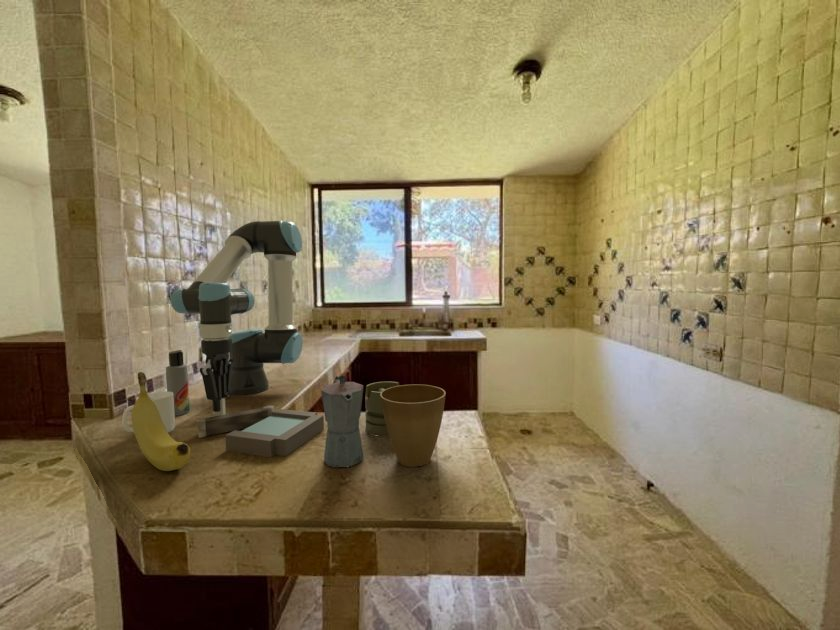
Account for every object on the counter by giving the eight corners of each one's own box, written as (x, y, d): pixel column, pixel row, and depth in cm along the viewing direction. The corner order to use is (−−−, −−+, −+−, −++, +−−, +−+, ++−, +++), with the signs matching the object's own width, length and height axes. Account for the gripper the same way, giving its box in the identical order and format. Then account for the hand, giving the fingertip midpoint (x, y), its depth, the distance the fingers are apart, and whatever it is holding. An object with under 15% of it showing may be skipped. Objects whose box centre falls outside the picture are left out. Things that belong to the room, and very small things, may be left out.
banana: (200, 473, 80) (195, 382, 78) (170, 485, 75) (164, 388, 73) (156, 447, 92) (152, 368, 91) (128, 456, 88) (122, 373, 86)
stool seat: (278, 421, 109) (278, 408, 109) (326, 427, 105) (326, 413, 105) (226, 450, 90) (225, 434, 90) (282, 459, 86) (281, 442, 86)
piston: (398, 380, 111) (411, 389, 100) (398, 419, 112) (411, 432, 101) (361, 383, 107) (370, 394, 96) (361, 424, 108) (371, 439, 97)
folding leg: (273, 419, 111) (272, 404, 111) (275, 422, 108) (275, 407, 108) (198, 433, 100) (197, 417, 100) (198, 438, 98) (198, 421, 97)
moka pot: (330, 479, 77) (328, 385, 75) (314, 450, 91) (312, 370, 89) (373, 468, 81) (372, 379, 80) (352, 442, 95) (351, 365, 93)
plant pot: (437, 443, 94) (437, 382, 93) (452, 473, 79) (453, 400, 78) (379, 448, 91) (378, 385, 90) (383, 479, 77) (382, 404, 76)
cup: (181, 429, 104) (179, 394, 103) (130, 445, 94) (128, 406, 93) (166, 423, 108) (164, 389, 107) (116, 438, 98) (113, 400, 97)
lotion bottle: (193, 411, 118) (189, 350, 117) (173, 417, 113) (170, 353, 112) (184, 408, 121) (181, 348, 120) (165, 413, 116) (161, 351, 115)
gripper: (216, 342, 95) (220, 430, 98) (241, 335, 108) (244, 413, 111) (188, 342, 96) (192, 430, 98) (216, 334, 108) (219, 412, 111)
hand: (219, 421), depth 104 cm, fingers closed
